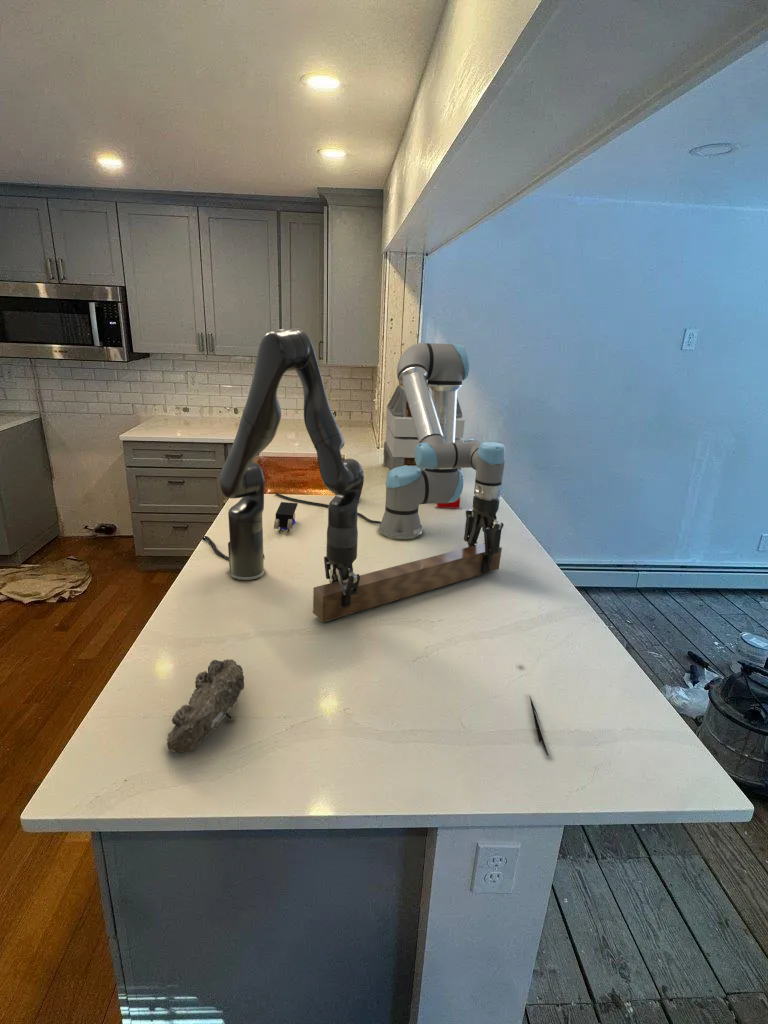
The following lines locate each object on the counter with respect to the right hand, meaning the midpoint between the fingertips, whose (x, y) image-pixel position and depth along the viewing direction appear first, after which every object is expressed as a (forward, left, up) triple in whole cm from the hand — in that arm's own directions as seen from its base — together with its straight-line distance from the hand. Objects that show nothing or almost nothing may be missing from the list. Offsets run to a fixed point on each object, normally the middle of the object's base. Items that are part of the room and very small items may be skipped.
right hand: (478, 568), depth 172 cm
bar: (-3, -24, -1) cm, 24 cm away
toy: (-58, +45, -2) cm, 73 cm away
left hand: (-5, -48, +2) cm, 48 cm away
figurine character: (-65, -28, -2) cm, 70 cm away
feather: (+47, -39, -2) cm, 61 cm away
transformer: (-90, +63, -2) cm, 110 cm away
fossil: (+11, -90, -2) cm, 91 cm away
